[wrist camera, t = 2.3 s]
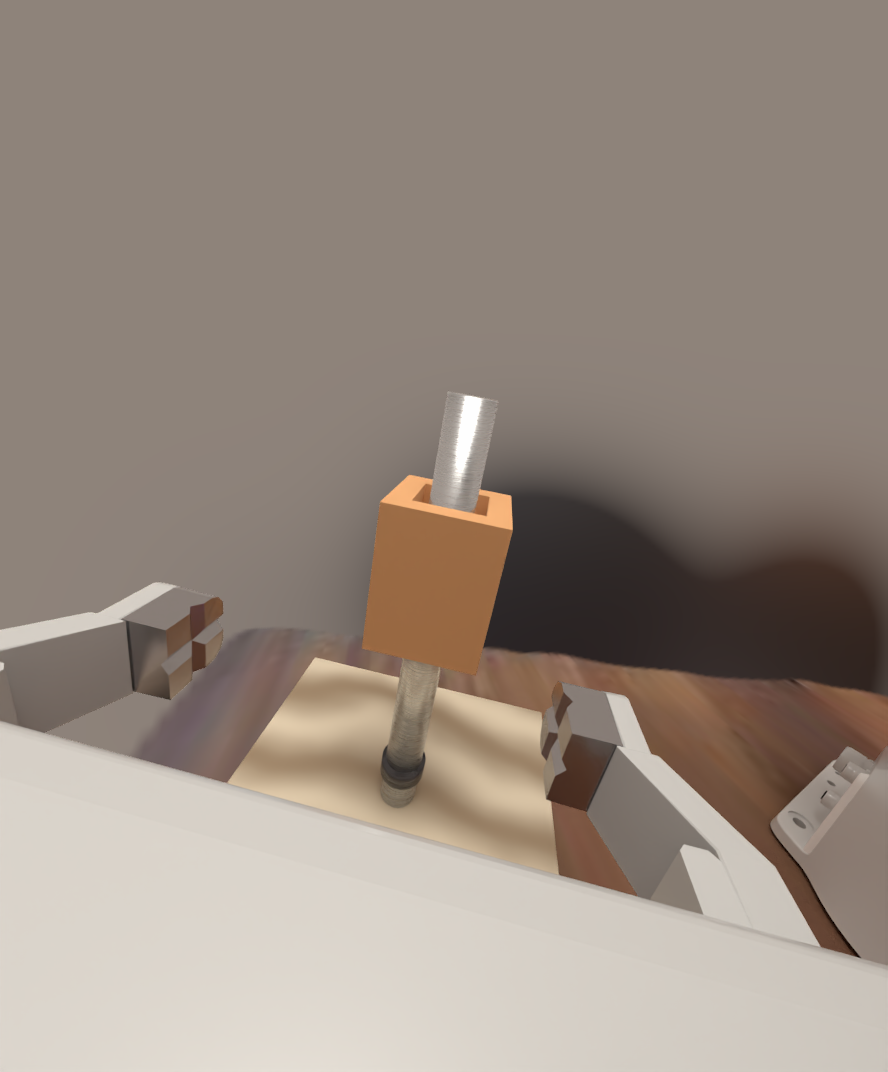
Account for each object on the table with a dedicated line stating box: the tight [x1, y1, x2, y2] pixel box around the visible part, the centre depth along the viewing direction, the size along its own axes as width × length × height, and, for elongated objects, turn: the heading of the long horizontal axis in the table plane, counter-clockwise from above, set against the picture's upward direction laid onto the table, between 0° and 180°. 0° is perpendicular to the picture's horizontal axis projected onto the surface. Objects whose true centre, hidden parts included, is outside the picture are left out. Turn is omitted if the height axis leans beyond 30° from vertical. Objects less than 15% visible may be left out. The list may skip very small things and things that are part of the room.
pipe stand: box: [228, 658, 559, 875], centre depth 29 cm, size 22×22×2 cm
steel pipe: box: [380, 392, 498, 808], centre depth 24 cm, size 3×3×26 cm
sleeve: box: [362, 475, 513, 676], centre depth 22 cm, size 6×6×8 cm
